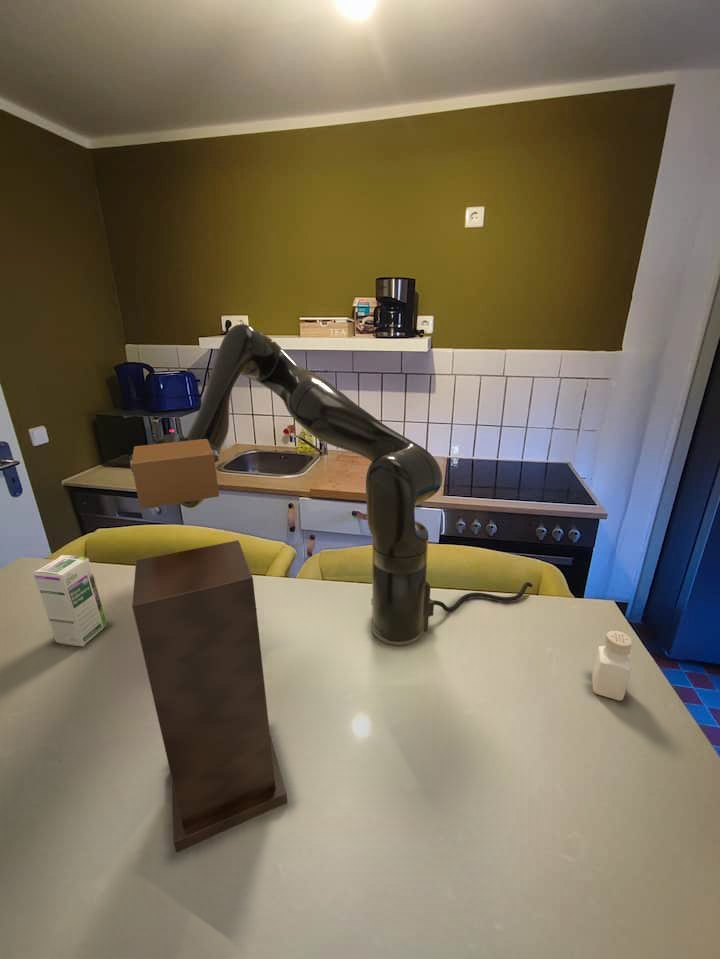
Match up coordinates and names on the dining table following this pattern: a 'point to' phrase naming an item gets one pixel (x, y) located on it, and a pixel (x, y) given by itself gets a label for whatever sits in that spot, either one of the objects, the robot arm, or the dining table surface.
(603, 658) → the pepper shaker
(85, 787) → the dining table surface
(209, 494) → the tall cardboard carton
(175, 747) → the brown wooden tall block
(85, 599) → the syrup box
